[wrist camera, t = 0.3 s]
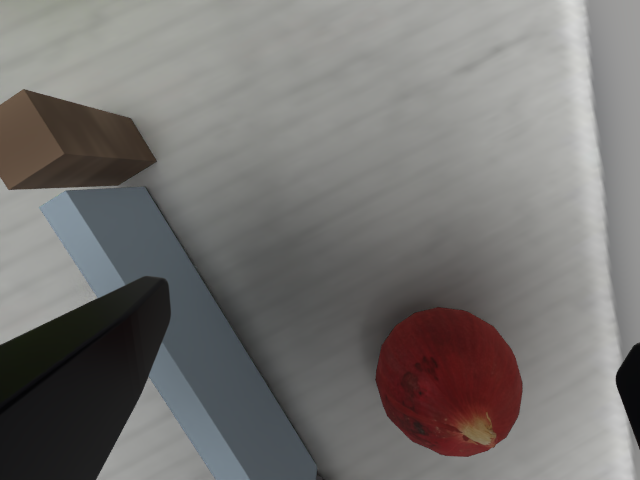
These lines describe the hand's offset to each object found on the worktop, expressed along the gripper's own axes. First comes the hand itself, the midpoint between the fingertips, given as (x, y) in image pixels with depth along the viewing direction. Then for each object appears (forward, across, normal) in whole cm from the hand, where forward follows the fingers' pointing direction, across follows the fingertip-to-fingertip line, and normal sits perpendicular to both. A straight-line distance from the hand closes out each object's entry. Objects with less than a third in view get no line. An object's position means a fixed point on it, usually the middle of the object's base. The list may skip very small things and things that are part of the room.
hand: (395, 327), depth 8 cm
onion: (+10, -4, +9) cm, 15 cm away
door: (+10, +6, +11) cm, 15 cm away
